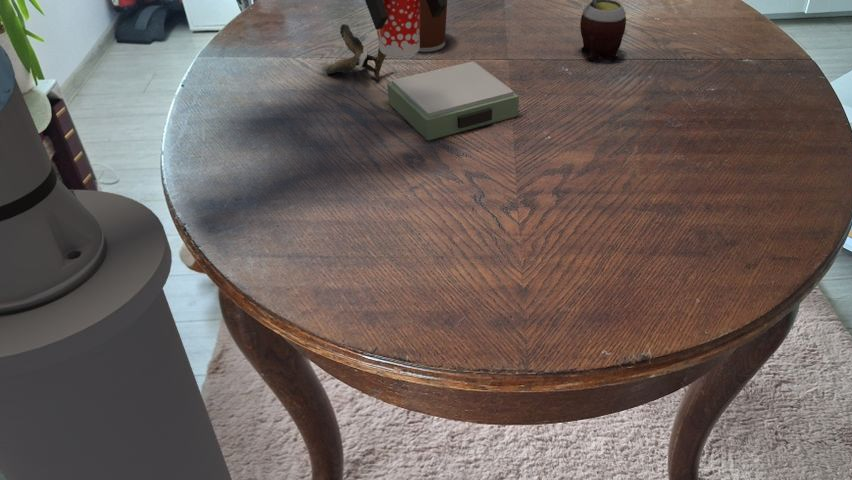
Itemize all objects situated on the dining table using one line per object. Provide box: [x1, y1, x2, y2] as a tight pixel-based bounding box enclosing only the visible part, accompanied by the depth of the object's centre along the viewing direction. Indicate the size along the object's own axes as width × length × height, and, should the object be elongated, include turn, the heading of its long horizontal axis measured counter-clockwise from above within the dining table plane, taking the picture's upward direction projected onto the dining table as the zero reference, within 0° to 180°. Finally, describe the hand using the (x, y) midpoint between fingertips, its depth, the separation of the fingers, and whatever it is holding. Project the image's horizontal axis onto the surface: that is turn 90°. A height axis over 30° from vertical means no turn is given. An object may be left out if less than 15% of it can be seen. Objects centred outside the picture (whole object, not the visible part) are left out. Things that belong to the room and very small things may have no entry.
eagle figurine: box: [326, 23, 387, 81], centre depth 109 cm, size 8×7×9 cm
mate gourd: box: [579, 0, 627, 63], centre depth 113 cm, size 8×8×15 cm
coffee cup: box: [418, 0, 448, 53], centre depth 116 cm, size 9×9×12 cm
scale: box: [386, 60, 520, 141], centre depth 101 cm, size 14×12×4 cm
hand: (411, 17), depth 79 cm, fingers closed on beverage cup, 6 cm apart
